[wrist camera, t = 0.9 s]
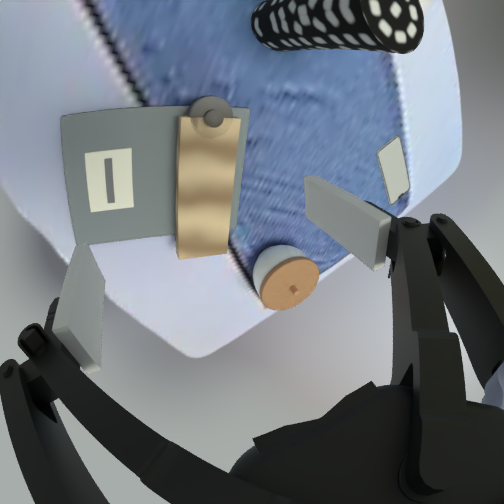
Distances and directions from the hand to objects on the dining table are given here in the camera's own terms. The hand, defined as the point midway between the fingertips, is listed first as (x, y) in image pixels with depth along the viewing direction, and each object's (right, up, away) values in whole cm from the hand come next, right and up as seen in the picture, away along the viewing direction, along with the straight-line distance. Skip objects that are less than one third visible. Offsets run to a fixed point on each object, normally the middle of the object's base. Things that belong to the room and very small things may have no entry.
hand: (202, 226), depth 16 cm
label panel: (-10, +9, +19) cm, 23 cm away
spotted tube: (+6, +29, +13) cm, 32 cm away
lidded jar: (+6, -3, +36) cm, 37 cm away
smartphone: (+32, +16, +37) cm, 51 cm away
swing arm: (-4, +8, +20) cm, 21 cm away
